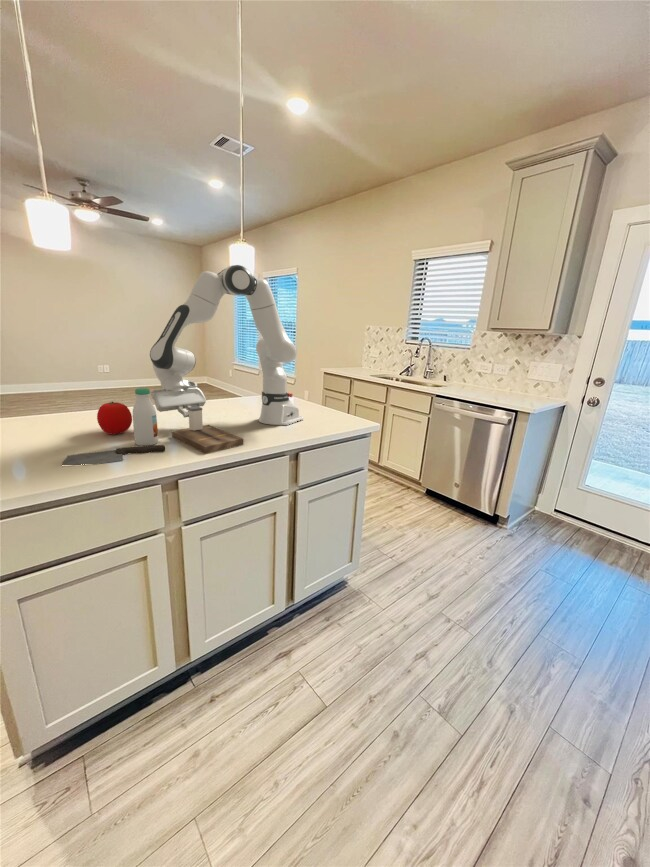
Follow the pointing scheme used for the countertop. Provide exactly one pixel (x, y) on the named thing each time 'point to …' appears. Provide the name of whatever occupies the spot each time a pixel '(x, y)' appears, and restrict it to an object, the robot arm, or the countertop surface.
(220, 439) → the wooden cutting board
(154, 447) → the cleaver
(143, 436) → the milk bottle
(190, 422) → the white lidded container
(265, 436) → the countertop surface
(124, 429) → the tomato
